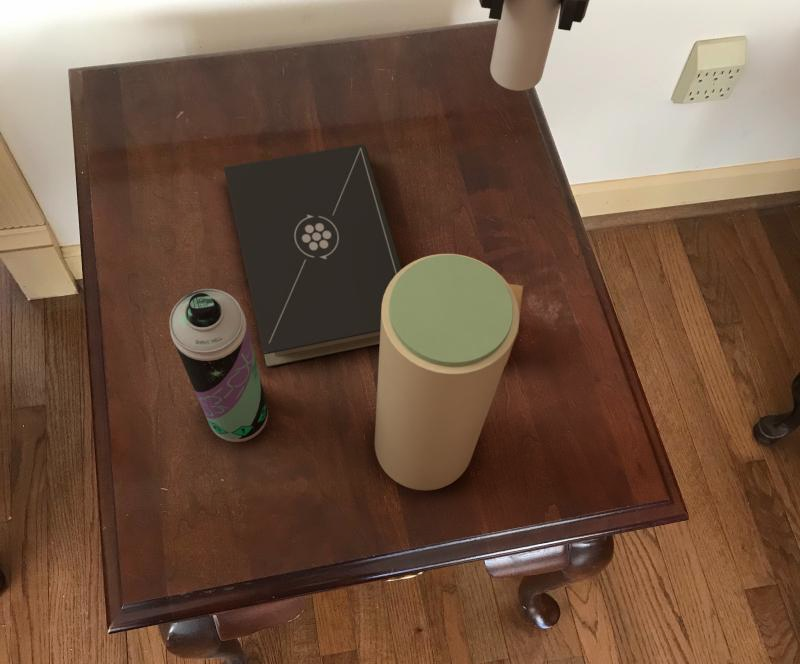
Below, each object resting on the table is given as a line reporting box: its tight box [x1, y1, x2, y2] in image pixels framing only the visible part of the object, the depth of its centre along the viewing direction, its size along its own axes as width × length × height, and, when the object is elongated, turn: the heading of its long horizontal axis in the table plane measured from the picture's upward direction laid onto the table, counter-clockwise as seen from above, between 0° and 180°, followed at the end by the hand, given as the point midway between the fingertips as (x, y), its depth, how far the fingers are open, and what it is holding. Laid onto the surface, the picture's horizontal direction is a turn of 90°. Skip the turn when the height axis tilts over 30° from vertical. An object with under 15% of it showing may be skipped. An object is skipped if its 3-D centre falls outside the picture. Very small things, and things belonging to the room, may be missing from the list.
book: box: [223, 143, 403, 368], centre depth 82 cm, size 22×15×3 cm
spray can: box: [168, 288, 269, 443], centre depth 67 cm, size 6×6×20 cm
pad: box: [389, 255, 513, 366], centre depth 54 cm, size 8×8×1 cm
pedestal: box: [374, 253, 520, 491], centre depth 65 cm, size 9×9×24 cm
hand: (532, 11), depth 46 cm, fingers closed on vial, 3 cm apart
